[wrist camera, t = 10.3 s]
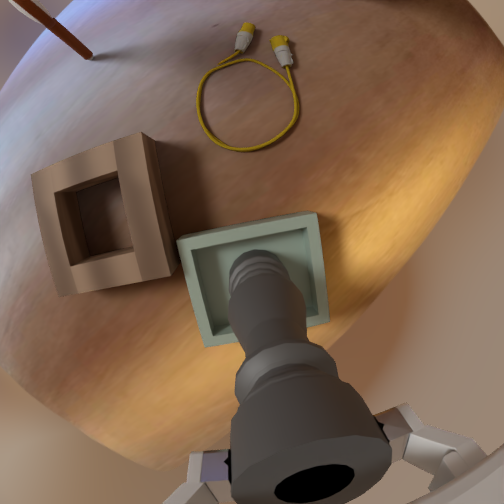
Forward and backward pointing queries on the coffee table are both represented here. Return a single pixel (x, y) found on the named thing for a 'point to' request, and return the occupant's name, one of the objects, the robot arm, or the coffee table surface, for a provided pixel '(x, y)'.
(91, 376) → the coffee table surface
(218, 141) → the extension cord
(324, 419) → the candle holder
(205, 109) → the coffee table surface
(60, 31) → the magnifying glass
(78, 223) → the socket block
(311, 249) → the parts tray
